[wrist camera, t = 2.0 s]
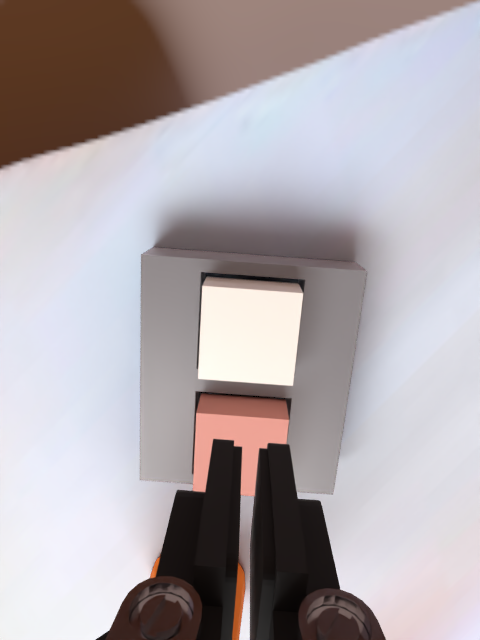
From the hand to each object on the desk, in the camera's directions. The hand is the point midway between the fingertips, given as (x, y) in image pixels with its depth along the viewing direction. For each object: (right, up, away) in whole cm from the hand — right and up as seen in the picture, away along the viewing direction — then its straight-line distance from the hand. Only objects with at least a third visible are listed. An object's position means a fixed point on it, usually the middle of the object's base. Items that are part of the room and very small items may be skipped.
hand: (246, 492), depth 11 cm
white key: (0, +4, +14) cm, 15 cm away
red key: (0, -3, +16) cm, 16 cm away
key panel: (0, +2, +17) cm, 17 cm away
